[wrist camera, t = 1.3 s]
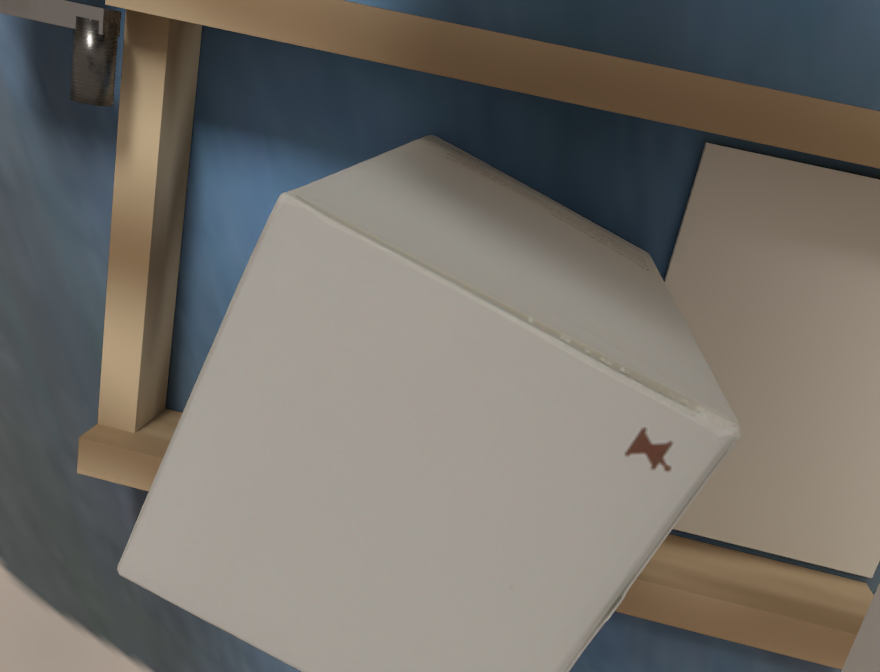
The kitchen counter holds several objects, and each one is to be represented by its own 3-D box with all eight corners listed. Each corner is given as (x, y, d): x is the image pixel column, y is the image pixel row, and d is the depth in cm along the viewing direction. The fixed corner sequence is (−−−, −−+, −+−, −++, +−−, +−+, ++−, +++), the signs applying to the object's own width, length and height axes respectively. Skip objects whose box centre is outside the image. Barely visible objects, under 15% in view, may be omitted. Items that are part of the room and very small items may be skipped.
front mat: (705, 142, 21) (706, 142, 21) (1028, 211, 21) (1033, 212, 21) (596, 506, 25) (596, 509, 25) (869, 574, 24) (871, 578, 24)
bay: (165, -31, 22) (108, -49, 19) (1053, 153, 20) (1133, 164, 18) (128, 432, 27) (76, 472, 24) (851, 614, 25) (889, 682, 22)
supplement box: (427, 125, 22) (280, 166, 10) (657, 253, 23) (770, 439, 11) (318, 341, 25) (96, 576, 13) (526, 456, 25) (498, 794, 13)
